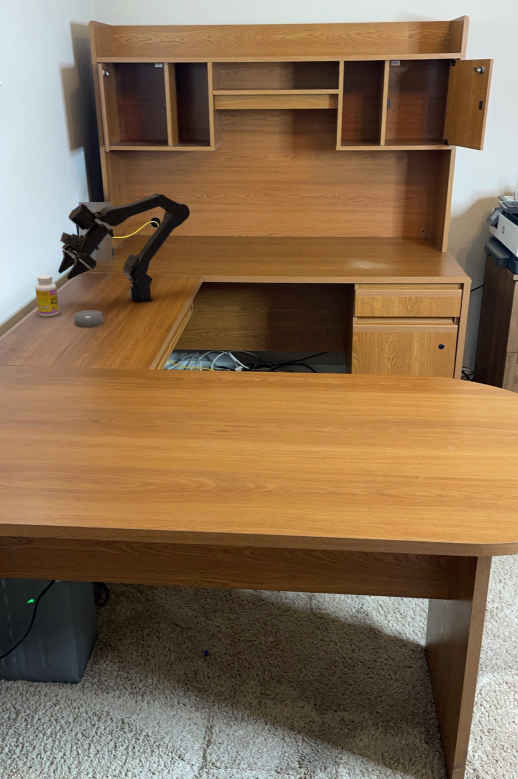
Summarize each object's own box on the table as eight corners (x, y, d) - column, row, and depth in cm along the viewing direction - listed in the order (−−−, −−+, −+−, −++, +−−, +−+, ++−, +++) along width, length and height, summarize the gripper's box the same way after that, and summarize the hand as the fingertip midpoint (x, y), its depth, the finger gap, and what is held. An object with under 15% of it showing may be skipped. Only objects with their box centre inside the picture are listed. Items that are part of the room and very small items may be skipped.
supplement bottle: (53, 317, 234) (49, 279, 228) (35, 316, 235) (30, 278, 230) (62, 311, 240) (58, 274, 234) (44, 310, 241) (40, 273, 236)
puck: (99, 317, 234) (98, 308, 233) (106, 325, 227) (105, 316, 225) (72, 320, 231) (71, 312, 229) (77, 329, 223) (76, 319, 222)
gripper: (65, 218, 238) (36, 255, 237) (83, 228, 224) (53, 266, 223) (89, 240, 245) (61, 275, 244) (109, 250, 231) (79, 287, 230)
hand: (63, 275), depth 235 cm, fingers open, 9 cm apart
